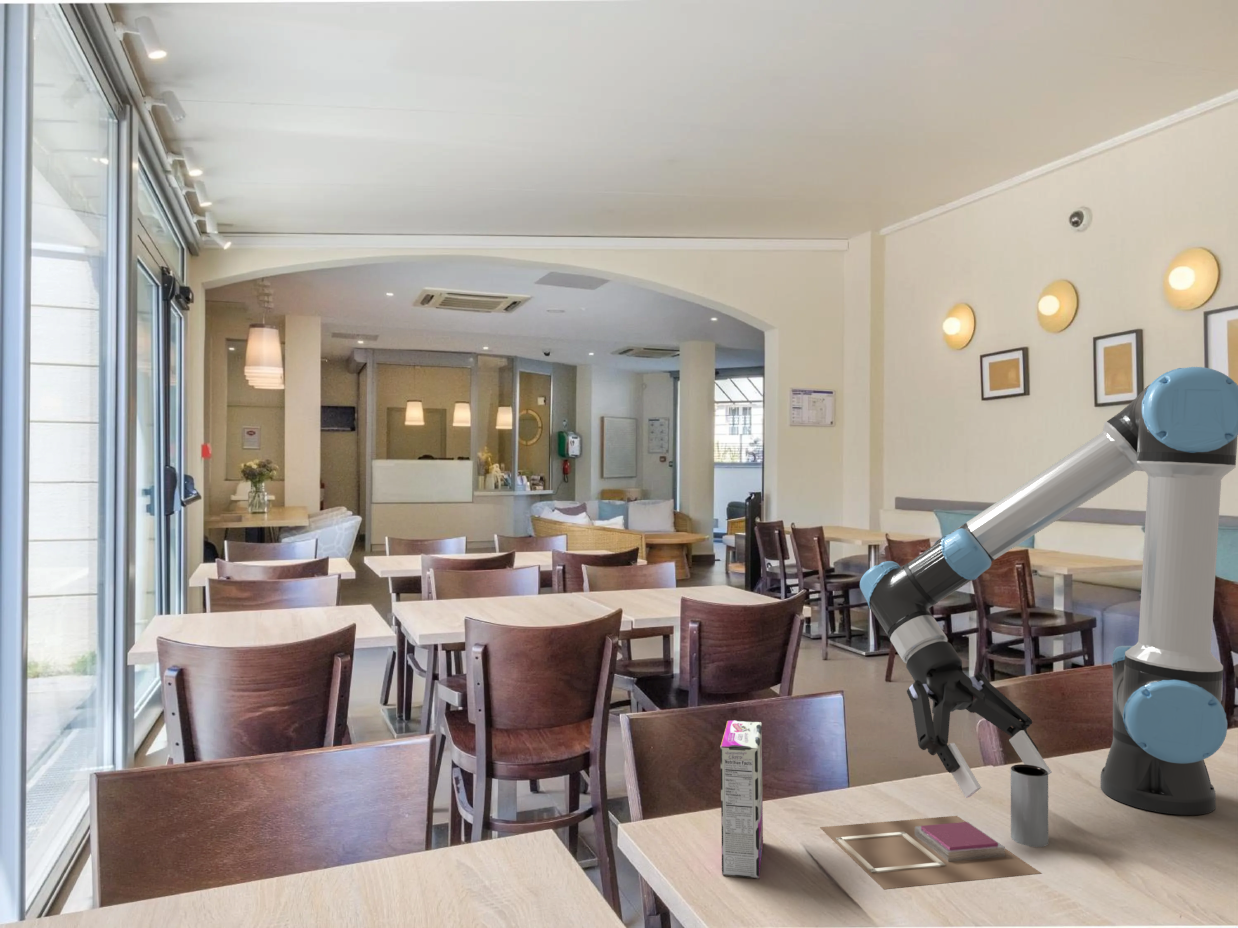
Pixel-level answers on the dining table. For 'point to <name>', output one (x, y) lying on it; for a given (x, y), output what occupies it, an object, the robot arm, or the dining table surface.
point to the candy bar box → (741, 799)
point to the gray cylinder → (1029, 805)
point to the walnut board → (915, 855)
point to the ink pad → (959, 841)
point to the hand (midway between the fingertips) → (1009, 784)
